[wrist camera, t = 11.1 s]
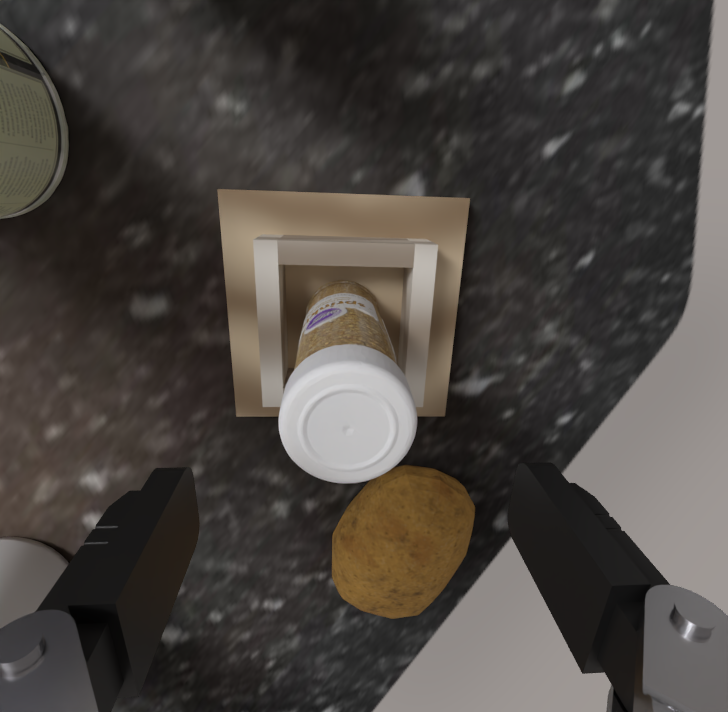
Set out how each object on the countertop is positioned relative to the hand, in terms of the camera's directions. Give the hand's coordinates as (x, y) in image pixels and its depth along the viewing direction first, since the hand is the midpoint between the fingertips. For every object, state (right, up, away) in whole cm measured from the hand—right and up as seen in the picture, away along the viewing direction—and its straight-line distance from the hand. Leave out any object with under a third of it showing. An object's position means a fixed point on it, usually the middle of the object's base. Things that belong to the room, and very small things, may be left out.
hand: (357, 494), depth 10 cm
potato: (+3, -8, +23) cm, 25 cm away
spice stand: (-1, +6, +17) cm, 18 cm away
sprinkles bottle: (-1, +6, +16) cm, 17 cm away
